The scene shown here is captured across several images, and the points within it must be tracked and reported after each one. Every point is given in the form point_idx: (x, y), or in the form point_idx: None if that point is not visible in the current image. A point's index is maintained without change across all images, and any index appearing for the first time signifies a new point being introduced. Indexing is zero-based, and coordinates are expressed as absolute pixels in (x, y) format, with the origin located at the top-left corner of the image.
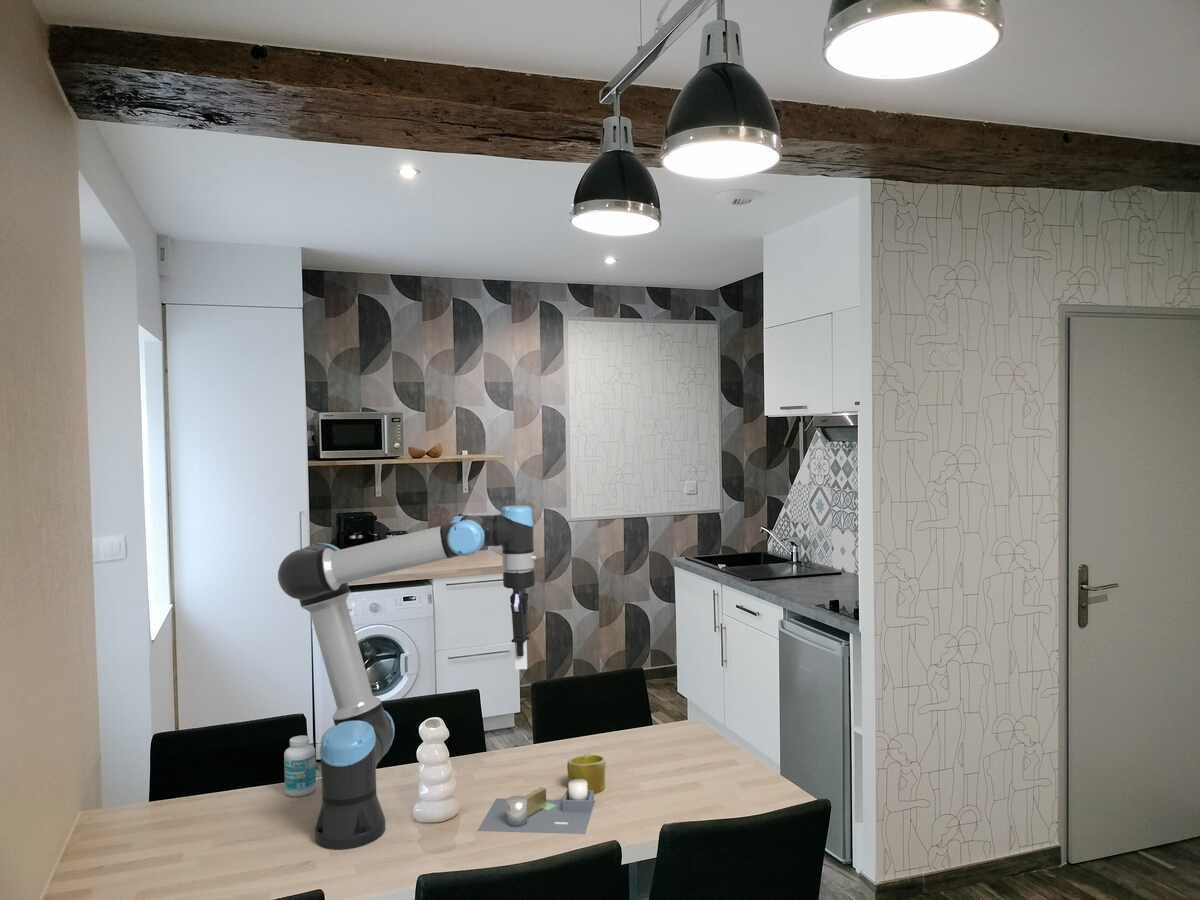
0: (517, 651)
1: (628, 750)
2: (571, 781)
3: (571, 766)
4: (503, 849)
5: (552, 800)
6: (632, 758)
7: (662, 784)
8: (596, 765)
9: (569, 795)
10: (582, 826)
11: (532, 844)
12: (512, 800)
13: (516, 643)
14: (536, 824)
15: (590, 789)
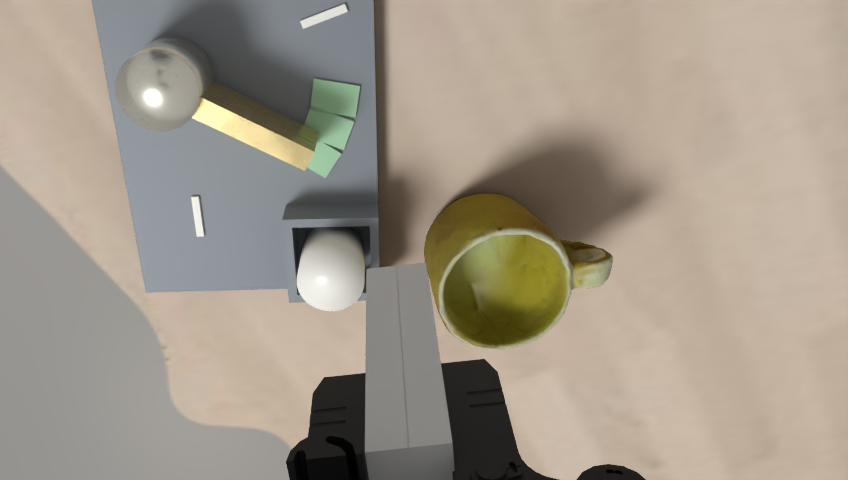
0: (313, 418)
1: (827, 316)
2: (339, 260)
3: (457, 245)
4: (20, 56)
5: (370, 156)
6: (753, 335)
7: (538, 429)
8: (450, 332)
9: (313, 239)
10: (192, 278)
11: (80, 141)
12: (148, 77)
13: (366, 458)
14: (176, 140)
15: (428, 274)
